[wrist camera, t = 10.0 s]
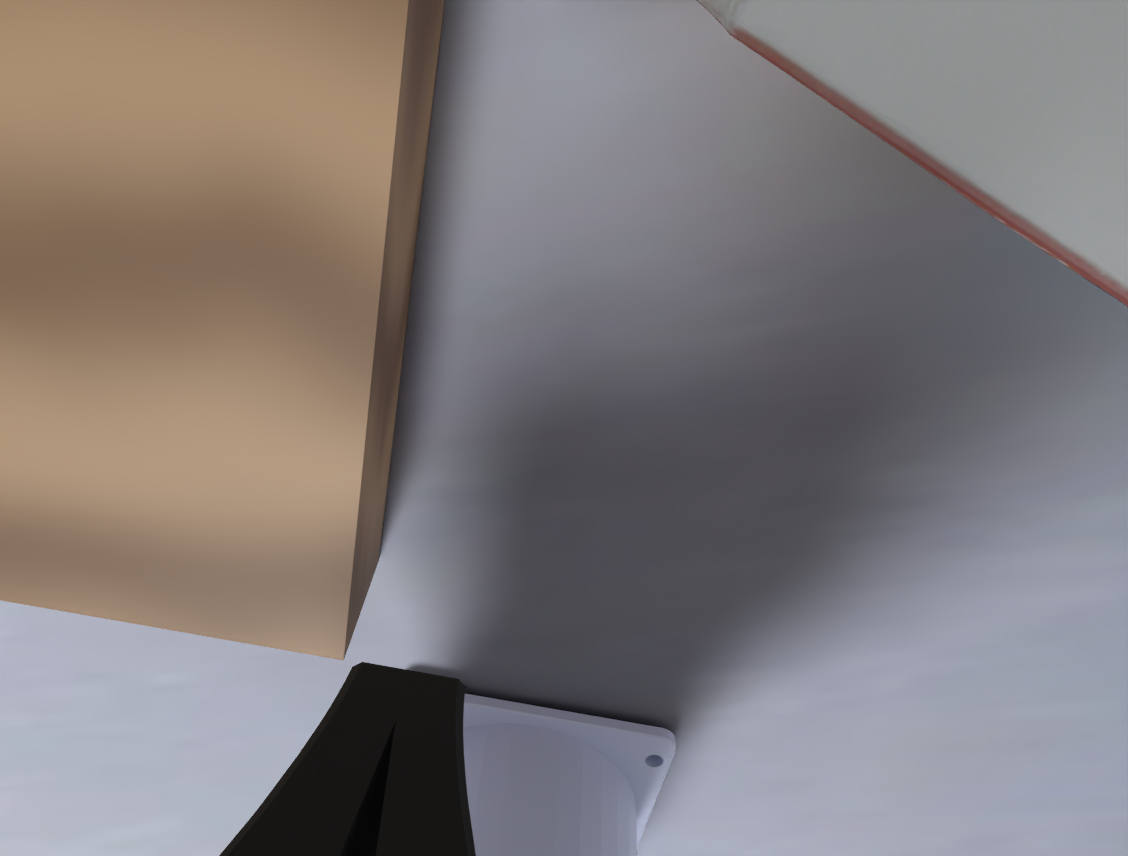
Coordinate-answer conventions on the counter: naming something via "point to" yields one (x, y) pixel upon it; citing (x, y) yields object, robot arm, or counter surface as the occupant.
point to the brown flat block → (206, 305)
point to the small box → (979, 103)
